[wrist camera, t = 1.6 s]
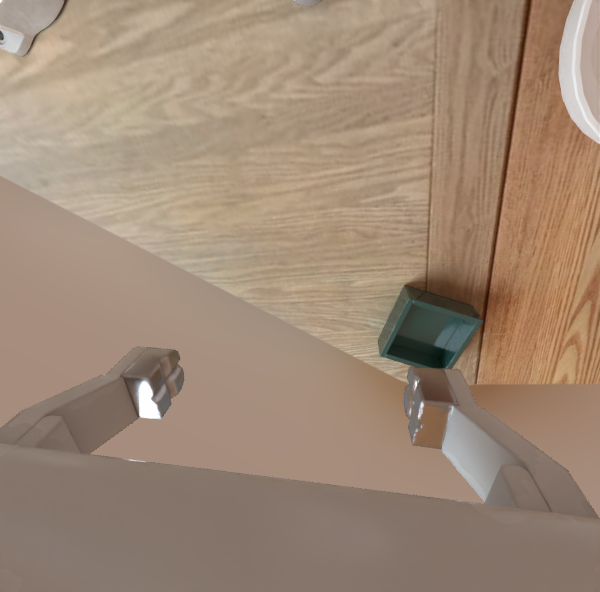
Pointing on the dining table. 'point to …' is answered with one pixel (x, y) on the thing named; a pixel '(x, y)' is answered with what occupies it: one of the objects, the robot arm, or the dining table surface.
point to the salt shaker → (306, 2)
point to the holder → (427, 330)
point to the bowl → (582, 66)
